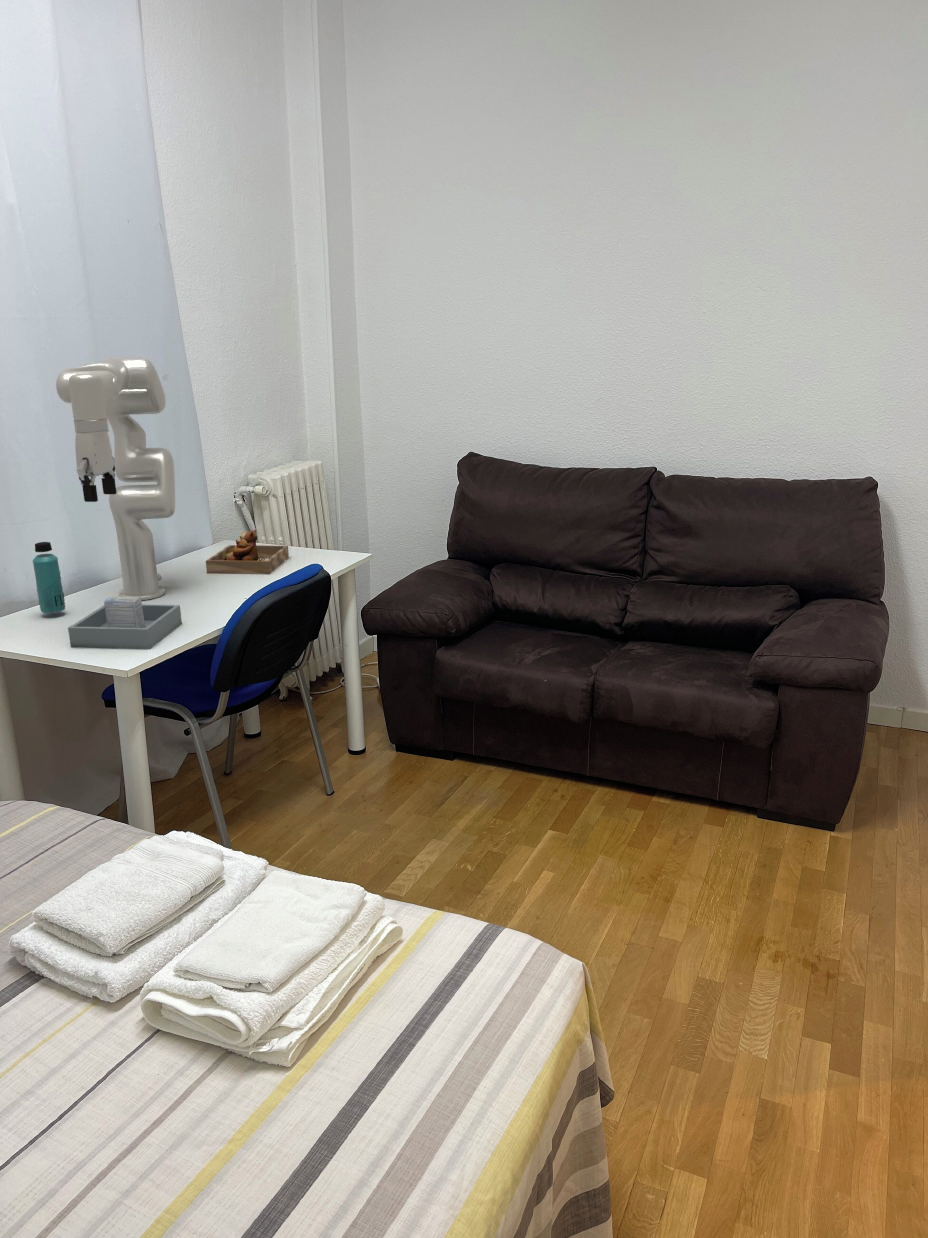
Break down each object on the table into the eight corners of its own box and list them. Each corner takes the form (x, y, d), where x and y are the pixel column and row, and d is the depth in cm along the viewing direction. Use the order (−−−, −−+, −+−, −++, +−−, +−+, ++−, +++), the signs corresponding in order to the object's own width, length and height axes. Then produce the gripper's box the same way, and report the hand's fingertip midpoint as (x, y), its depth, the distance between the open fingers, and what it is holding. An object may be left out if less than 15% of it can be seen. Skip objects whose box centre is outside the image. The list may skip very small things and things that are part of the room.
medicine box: (145, 629, 244) (141, 596, 241) (138, 634, 240) (134, 601, 237) (115, 628, 245) (111, 595, 242) (108, 634, 241) (103, 600, 238)
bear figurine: (228, 562, 313) (224, 525, 309) (273, 563, 312) (270, 525, 308) (213, 573, 300) (209, 535, 296) (260, 574, 299) (257, 535, 295)
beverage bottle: (57, 619, 257) (46, 545, 250) (35, 618, 258) (23, 545, 252) (71, 612, 263) (61, 540, 257) (50, 610, 264) (39, 539, 258)
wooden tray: (230, 556, 319) (229, 545, 318) (288, 557, 317) (288, 545, 316) (206, 573, 299) (205, 560, 298) (269, 574, 297) (268, 561, 296)
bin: (108, 622, 253) (106, 603, 252) (181, 623, 251) (179, 605, 250) (70, 647, 235) (67, 627, 233) (149, 649, 232) (147, 629, 231)
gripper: (93, 422, 239) (102, 491, 244) (58, 431, 223) (68, 504, 228) (122, 422, 238) (131, 491, 243) (89, 431, 222) (98, 504, 227)
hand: (100, 497), depth 236 cm, fingers open, 9 cm apart
